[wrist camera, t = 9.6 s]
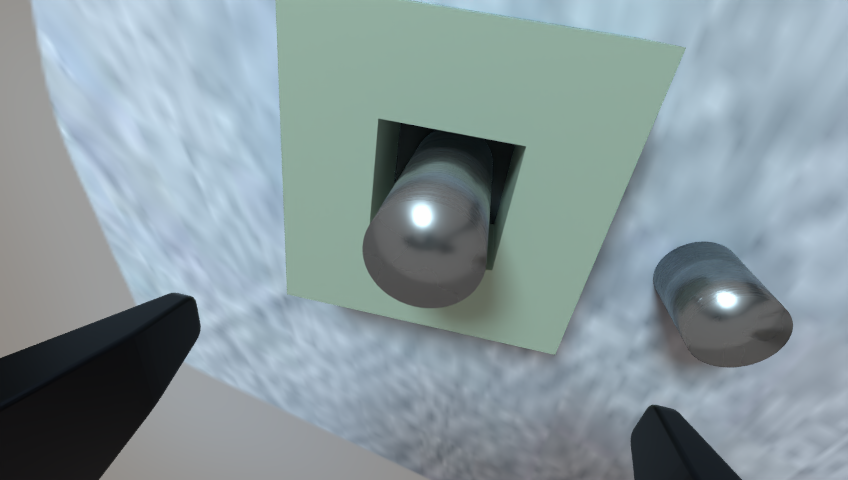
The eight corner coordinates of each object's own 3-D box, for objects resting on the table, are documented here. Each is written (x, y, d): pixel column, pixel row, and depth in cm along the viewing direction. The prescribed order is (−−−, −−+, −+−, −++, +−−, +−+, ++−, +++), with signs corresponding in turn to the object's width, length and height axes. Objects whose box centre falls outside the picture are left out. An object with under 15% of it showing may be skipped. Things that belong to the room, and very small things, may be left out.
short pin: (754, 250, 18) (814, 308, 14) (715, 311, 20) (759, 375, 16) (673, 234, 18) (712, 287, 15) (640, 296, 20) (669, 355, 16)
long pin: (501, 133, 17) (500, 215, 10) (483, 207, 19) (472, 319, 12) (420, 118, 17) (366, 188, 11) (410, 193, 19) (358, 294, 12)
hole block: (643, 38, 15) (686, 47, 11) (546, 298, 21) (555, 354, 17) (325, -14, 16) (274, -21, 12) (321, 249, 22) (287, 294, 18)
